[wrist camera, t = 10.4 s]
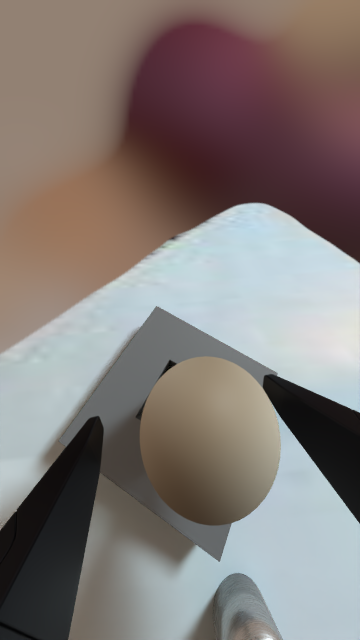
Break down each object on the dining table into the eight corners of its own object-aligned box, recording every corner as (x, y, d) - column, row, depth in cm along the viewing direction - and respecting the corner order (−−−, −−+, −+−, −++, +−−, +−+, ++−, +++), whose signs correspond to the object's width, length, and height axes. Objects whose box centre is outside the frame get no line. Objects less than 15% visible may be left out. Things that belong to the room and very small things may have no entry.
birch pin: (196, 380, 19) (263, 355, 6) (198, 423, 17) (298, 518, 4) (159, 381, 18) (144, 356, 5) (158, 424, 17) (133, 533, 4)
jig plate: (261, 375, 19) (277, 373, 17) (209, 528, 14) (219, 561, 11) (157, 317, 21) (156, 305, 18) (77, 432, 16) (58, 441, 13)
